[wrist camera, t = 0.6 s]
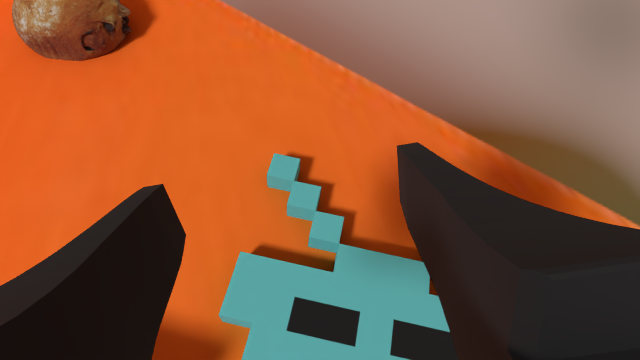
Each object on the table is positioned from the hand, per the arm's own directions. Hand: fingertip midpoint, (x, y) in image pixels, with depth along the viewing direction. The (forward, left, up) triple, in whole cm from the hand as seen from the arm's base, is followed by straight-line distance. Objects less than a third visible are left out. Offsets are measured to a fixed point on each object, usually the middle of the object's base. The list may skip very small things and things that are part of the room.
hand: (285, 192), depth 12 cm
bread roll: (+23, +29, -18) cm, 41 cm away
